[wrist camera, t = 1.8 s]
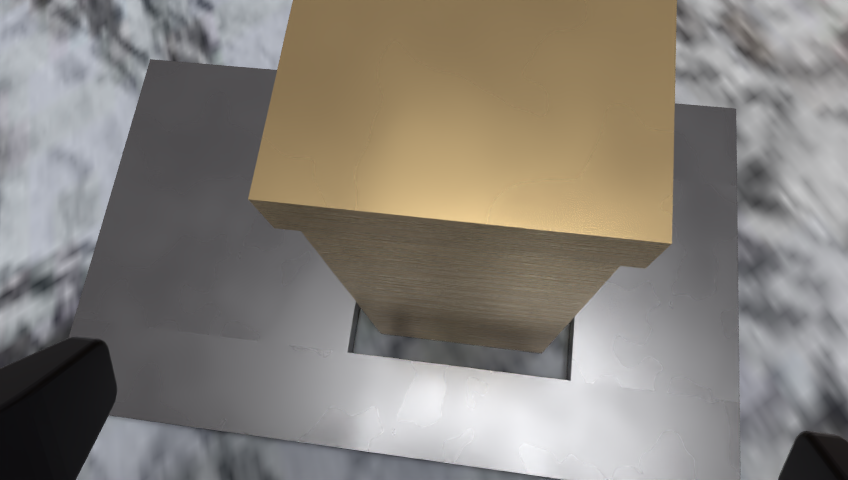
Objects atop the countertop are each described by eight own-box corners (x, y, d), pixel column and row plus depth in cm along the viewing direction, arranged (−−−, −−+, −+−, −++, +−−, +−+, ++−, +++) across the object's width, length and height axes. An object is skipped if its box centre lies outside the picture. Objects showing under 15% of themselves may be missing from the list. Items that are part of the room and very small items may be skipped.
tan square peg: (547, 360, 19) (671, 243, 8) (373, 338, 20) (248, 198, 8) (560, 196, 21) (678, -106, 9) (398, 180, 22) (320, -125, 10)
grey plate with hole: (728, 501, 18) (740, 504, 17) (64, 407, 20) (48, 406, 19) (726, 120, 21) (735, 108, 21) (160, 71, 23) (150, 59, 23)
